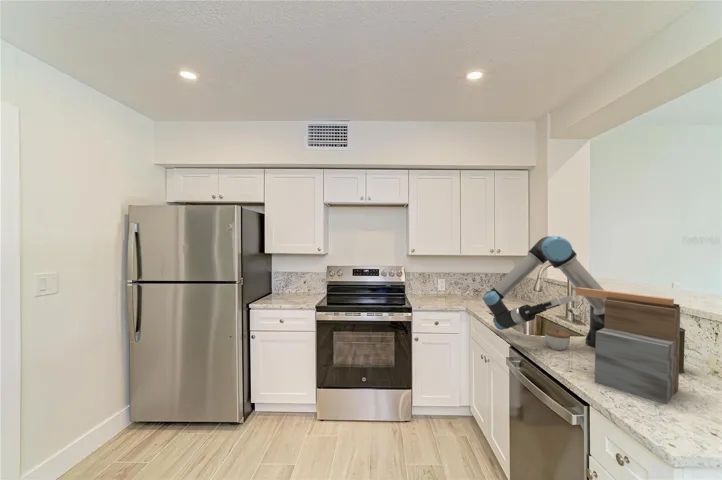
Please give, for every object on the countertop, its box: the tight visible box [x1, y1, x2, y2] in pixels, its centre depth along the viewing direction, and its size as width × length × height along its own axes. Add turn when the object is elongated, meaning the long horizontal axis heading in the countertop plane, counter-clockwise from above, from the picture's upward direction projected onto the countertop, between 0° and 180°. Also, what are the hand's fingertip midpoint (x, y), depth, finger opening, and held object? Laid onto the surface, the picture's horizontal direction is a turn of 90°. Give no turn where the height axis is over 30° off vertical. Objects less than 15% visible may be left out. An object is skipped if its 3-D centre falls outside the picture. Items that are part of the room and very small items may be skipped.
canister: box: [679, 327, 686, 374], centre depth 136 cm, size 11×10×20 cm
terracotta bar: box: [575, 287, 675, 306], centre depth 127 cm, size 3×30×3 cm, turn 35°
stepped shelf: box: [594, 297, 681, 405], centre depth 119 cm, size 18×20×31 cm
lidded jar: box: [544, 328, 571, 351], centre depth 159 cm, size 11×11×9 cm
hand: (565, 299), depth 142 cm, fingers open, 13 cm apart
